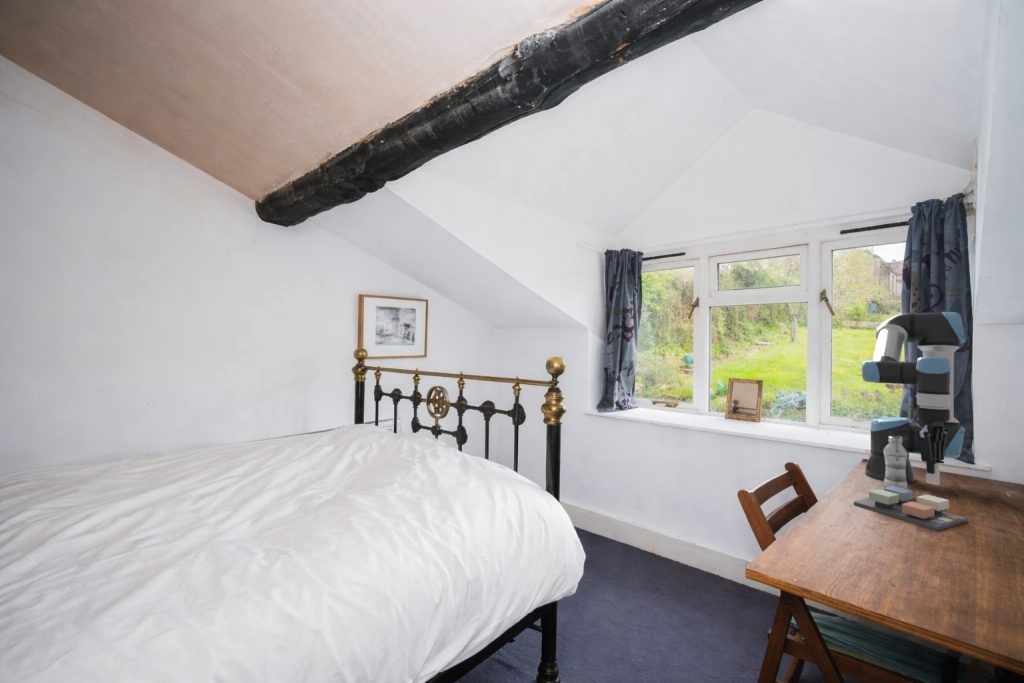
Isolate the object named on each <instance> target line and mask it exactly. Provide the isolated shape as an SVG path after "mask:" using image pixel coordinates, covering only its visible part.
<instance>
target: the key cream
mask: <svg viewBox="0 0 1024 683" xmlns="http://www.w3.org/2000/svg"><path fill="white" fill-rule="evenodd" d="M916 503H920V504H923V505H927V506H931V507H934V510H937V511H941V510H942V511H943V510H948V509H949V508H950V500H949V499H946V498H943V497H938V496H935V495H930V494H924V495H923V494H922V495H919V496H916Z"/></svg>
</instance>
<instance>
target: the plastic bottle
mask: <svg viewBox="0 0 1024 683" xmlns="http://www.w3.org/2000/svg"><path fill="white" fill-rule="evenodd" d="M888 441H889V444H888V445H886V447H885V448H884V450H883V452H884V458H885V465H886V471H885V479H884V480H883V484H882V485H883V489H884V488H886V487H890V486H896V487H900V488H904V489H908V490H909V486H908V482H906V474H905V468H906V460H907V451H906V449H905V448H904V447H903V445H902V444H901V443H903V441H902V437H899V436H889V440H888Z"/></svg>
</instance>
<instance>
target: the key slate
mask: <svg viewBox="0 0 1024 683" xmlns="http://www.w3.org/2000/svg"><path fill="white" fill-rule="evenodd" d="M883 490H884V491H888V492H892V493H895V494H899V500H901V501H906V500H907V501H908V500H913V499H914V490H912V489H911V490H910V489H909V488H908V489H904V488H900V487H896V486H890V487H886V488H884V487H883Z"/></svg>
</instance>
